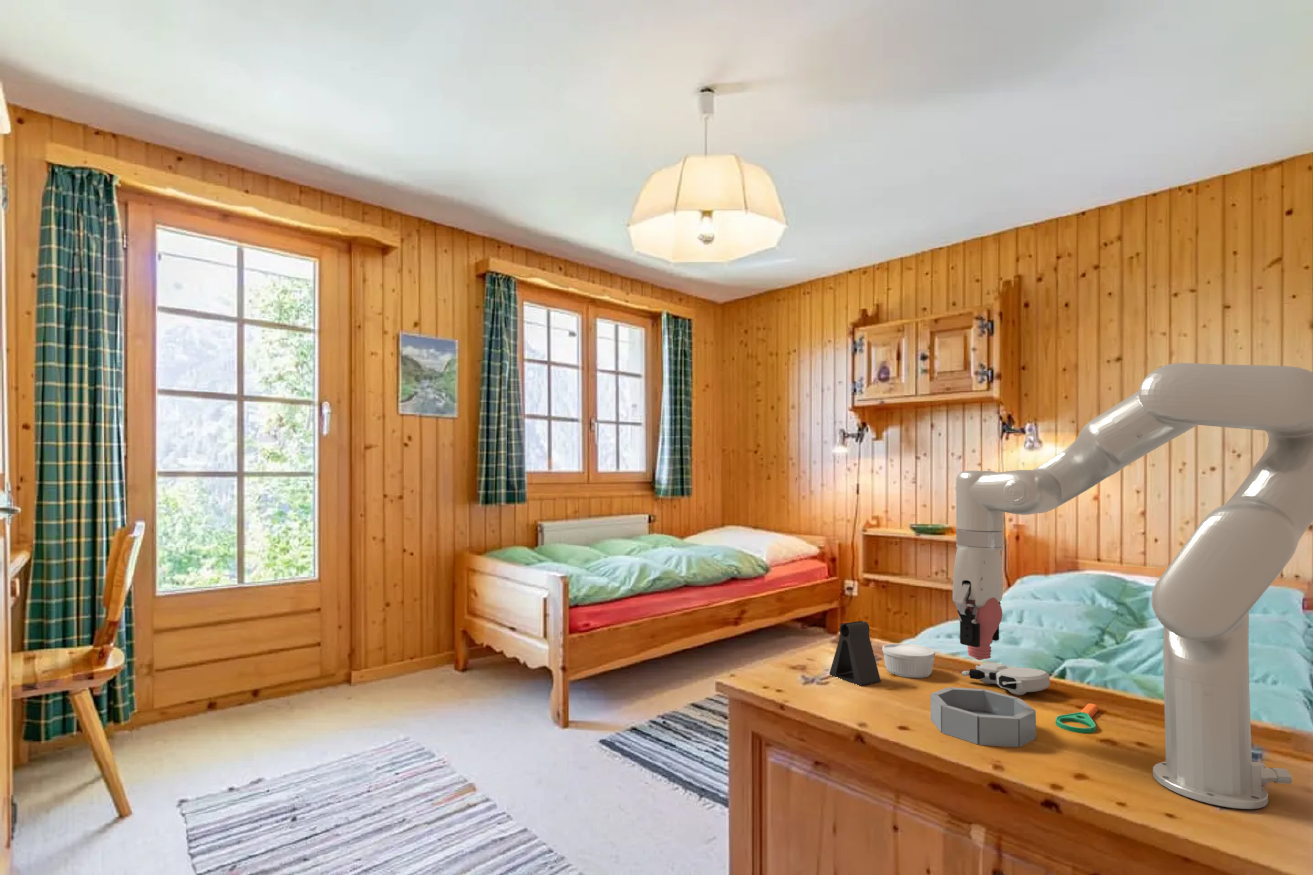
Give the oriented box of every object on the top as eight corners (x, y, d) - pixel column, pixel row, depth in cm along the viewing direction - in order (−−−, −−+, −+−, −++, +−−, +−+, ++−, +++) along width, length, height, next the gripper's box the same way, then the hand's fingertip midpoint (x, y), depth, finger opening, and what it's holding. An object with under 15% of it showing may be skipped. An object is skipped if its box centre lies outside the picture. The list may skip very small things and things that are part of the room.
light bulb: (992, 668, 112) (992, 596, 113) (950, 658, 117) (950, 590, 118) (1009, 661, 117) (1009, 592, 117) (968, 652, 122) (968, 586, 123)
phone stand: (829, 675, 146) (829, 619, 147) (848, 671, 149) (848, 617, 150) (861, 686, 139) (860, 628, 139) (880, 682, 142) (880, 625, 142)
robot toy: (958, 686, 143) (1025, 702, 130) (956, 664, 144) (1023, 678, 130) (994, 678, 149) (1062, 693, 136) (993, 658, 149) (1060, 670, 136)
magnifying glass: (1090, 738, 114) (1090, 728, 114) (1050, 728, 118) (1050, 718, 118) (1112, 717, 124) (1111, 707, 124) (1074, 708, 128) (1074, 699, 129)
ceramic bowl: (1009, 715, 123) (1009, 690, 123) (1049, 748, 108) (1048, 720, 108) (923, 710, 125) (923, 685, 125) (949, 742, 110) (949, 715, 110)
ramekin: (897, 662, 157) (897, 640, 158) (944, 673, 149) (944, 649, 149) (872, 671, 150) (872, 647, 150) (921, 683, 142) (920, 658, 142)
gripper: (979, 536, 127) (980, 631, 126) (935, 540, 115) (934, 645, 114) (1021, 539, 121) (1022, 639, 120) (979, 545, 110) (979, 655, 109)
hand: (979, 641), depth 117 cm, fingers closed on light bulb, 6 cm apart
